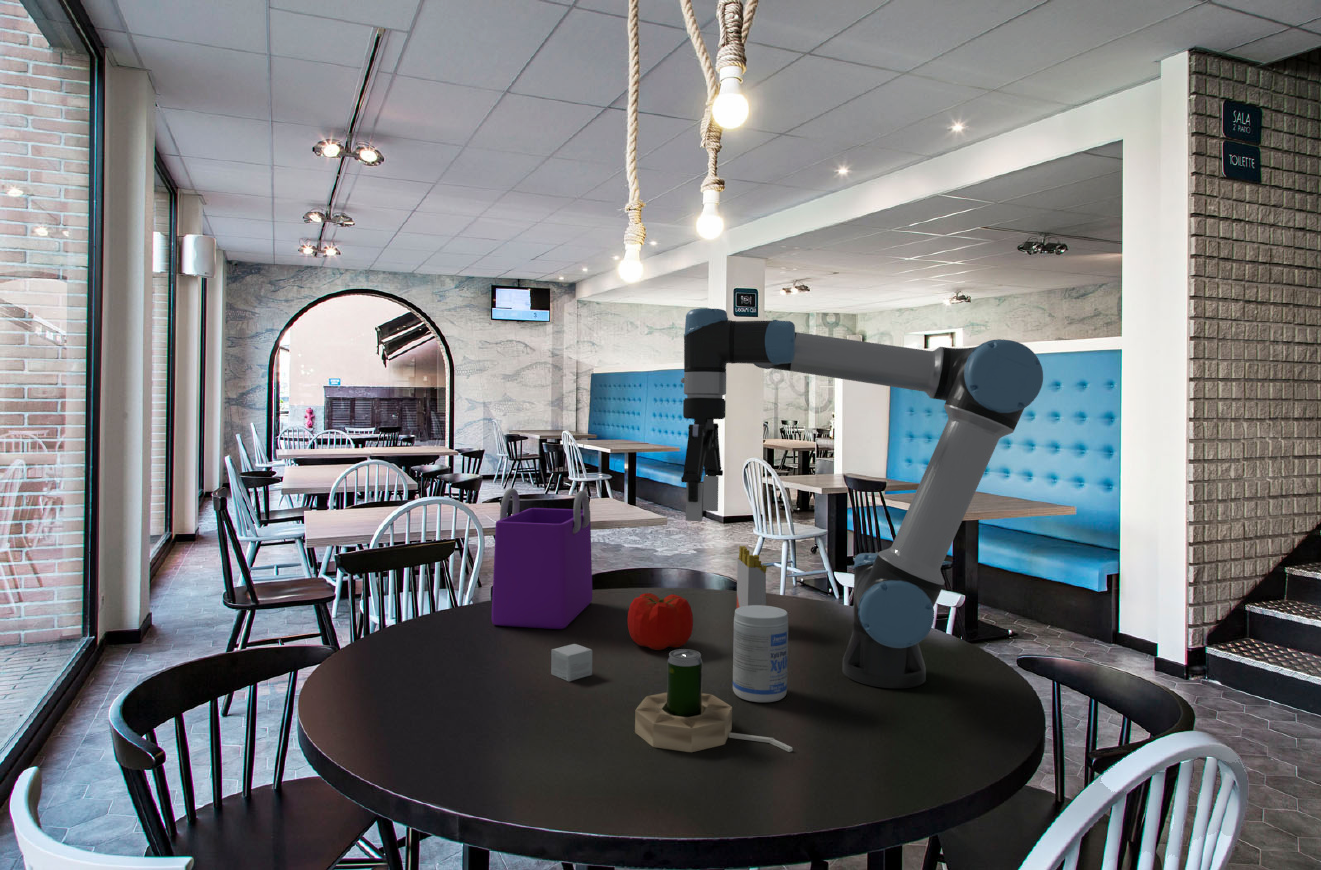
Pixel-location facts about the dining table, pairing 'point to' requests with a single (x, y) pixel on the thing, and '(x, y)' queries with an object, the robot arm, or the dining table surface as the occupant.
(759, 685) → the supplement tub
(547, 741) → the dining table surface
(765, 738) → the drinking straw
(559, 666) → the small box
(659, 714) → the tan octagonal bowl
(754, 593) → the french fries container
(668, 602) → the tomato
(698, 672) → the beer can
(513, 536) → the shopping bag
